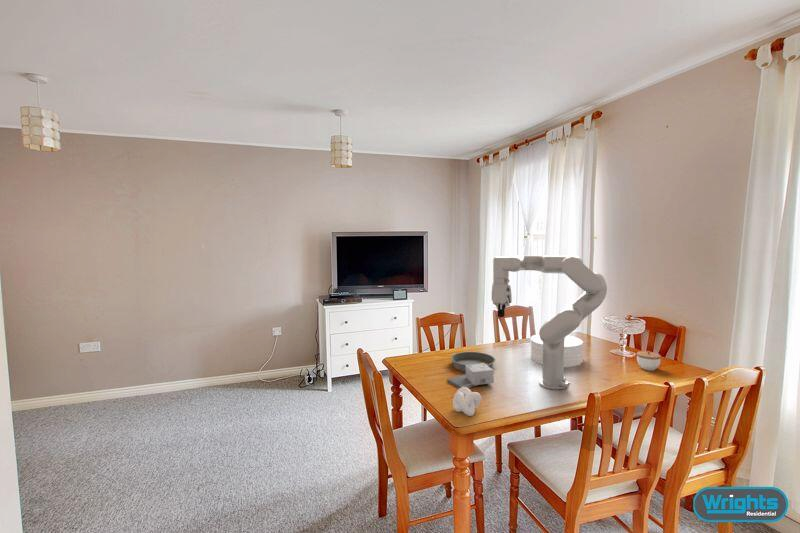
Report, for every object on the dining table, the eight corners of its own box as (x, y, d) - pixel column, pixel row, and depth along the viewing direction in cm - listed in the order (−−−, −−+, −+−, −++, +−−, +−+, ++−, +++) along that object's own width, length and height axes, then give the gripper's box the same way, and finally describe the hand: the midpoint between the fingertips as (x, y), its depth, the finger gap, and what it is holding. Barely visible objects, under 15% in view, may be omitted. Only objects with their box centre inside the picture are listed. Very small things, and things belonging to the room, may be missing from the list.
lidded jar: (636, 363, 208) (636, 347, 208) (659, 367, 203) (660, 349, 202) (636, 370, 199) (636, 352, 199) (661, 373, 194) (661, 355, 193)
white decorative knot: (476, 404, 164) (476, 383, 163) (486, 416, 152) (486, 395, 151) (450, 406, 162) (450, 386, 161) (459, 419, 150) (459, 397, 150)
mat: (484, 383, 186) (484, 380, 186) (462, 389, 179) (462, 386, 179) (468, 375, 197) (468, 373, 197) (447, 381, 190) (447, 378, 190)
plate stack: (549, 349, 240) (549, 331, 239) (592, 360, 216) (593, 340, 215) (520, 357, 224) (520, 338, 223) (563, 370, 201) (563, 349, 200)
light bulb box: (494, 383, 182) (485, 375, 193) (493, 369, 182) (484, 362, 193) (473, 385, 180) (465, 377, 191) (472, 371, 180) (464, 364, 191)
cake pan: (480, 377, 195) (480, 368, 194) (442, 366, 212) (441, 359, 211) (503, 365, 213) (503, 357, 212) (466, 356, 229) (466, 348, 229)
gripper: (517, 281, 187) (517, 318, 188) (495, 279, 200) (495, 313, 201) (506, 282, 183) (506, 320, 185) (485, 280, 196) (485, 315, 197)
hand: (501, 316), depth 193 cm, fingers closed
